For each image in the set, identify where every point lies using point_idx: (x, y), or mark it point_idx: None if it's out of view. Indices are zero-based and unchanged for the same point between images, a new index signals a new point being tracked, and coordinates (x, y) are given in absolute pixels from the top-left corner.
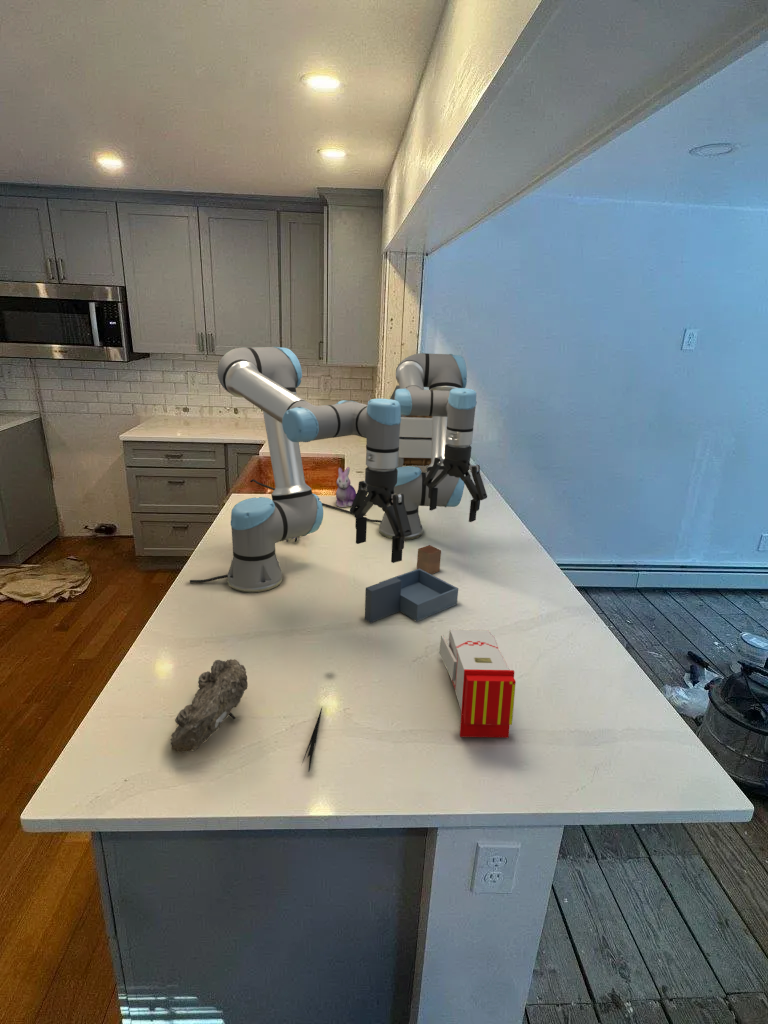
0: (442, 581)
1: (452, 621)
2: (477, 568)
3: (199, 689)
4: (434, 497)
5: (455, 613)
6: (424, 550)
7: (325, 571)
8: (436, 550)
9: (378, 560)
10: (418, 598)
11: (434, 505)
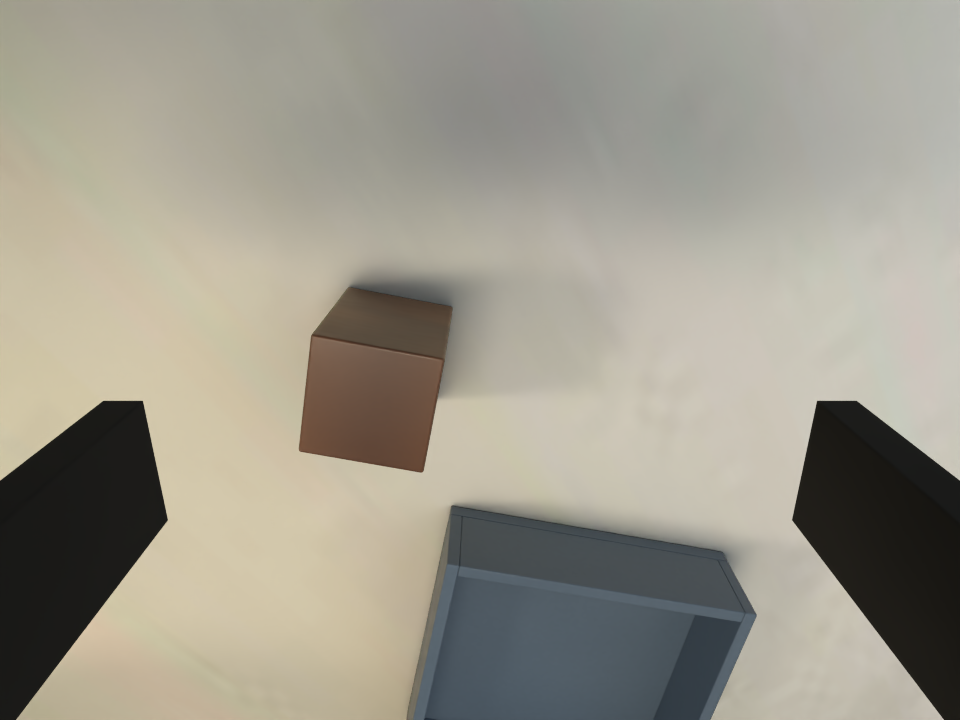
0: (645, 606)
1: (767, 669)
2: (628, 77)
3: None
4: (28, 614)
5: None
6: (353, 445)
7: None
8: (419, 389)
9: None
10: (560, 643)
11: (119, 489)
